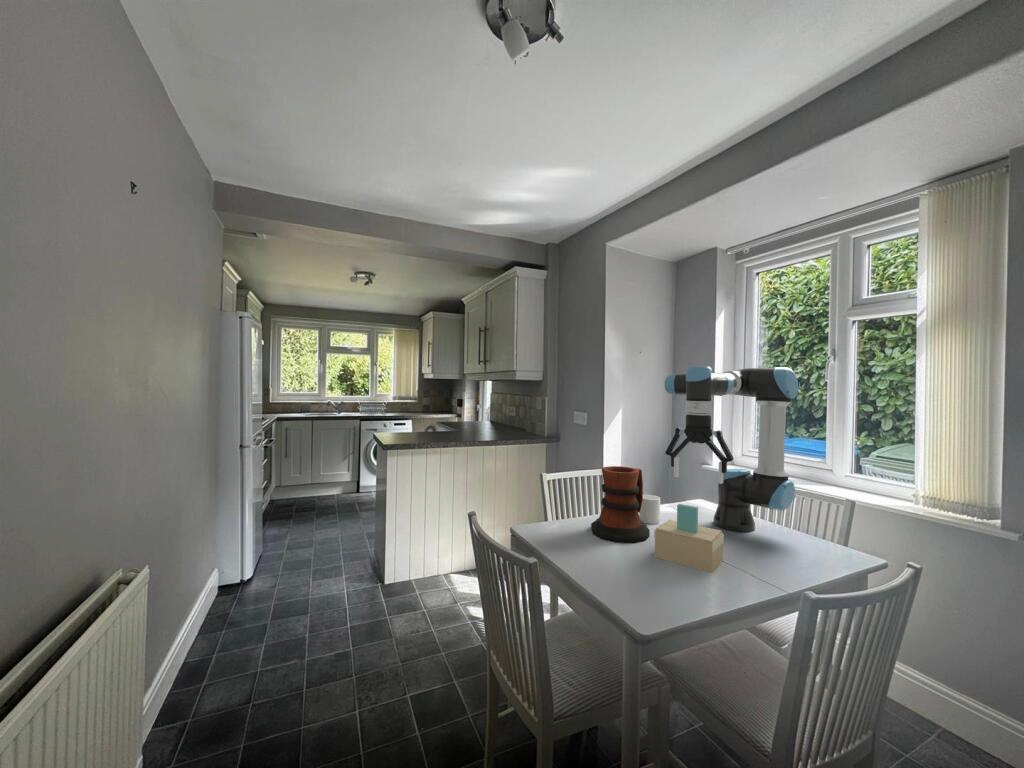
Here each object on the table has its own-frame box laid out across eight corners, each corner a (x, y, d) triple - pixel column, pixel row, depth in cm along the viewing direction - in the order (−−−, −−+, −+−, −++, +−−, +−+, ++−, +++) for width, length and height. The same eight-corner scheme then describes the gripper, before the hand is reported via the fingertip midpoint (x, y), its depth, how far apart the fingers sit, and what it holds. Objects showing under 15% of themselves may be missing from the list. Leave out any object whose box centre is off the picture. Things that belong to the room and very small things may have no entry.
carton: (667, 546, 150) (667, 519, 150) (723, 560, 138) (723, 531, 138) (654, 556, 141) (654, 527, 141) (713, 573, 129) (713, 541, 129)
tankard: (579, 531, 165) (579, 468, 165) (617, 518, 181) (617, 461, 181) (627, 548, 148) (628, 478, 148) (664, 532, 165) (665, 469, 165)
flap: (662, 525, 145) (663, 500, 145) (716, 537, 134) (716, 510, 134) (656, 529, 141) (656, 504, 141) (711, 542, 130) (711, 514, 130)
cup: (649, 525, 173) (649, 500, 173) (629, 517, 183) (629, 493, 184) (664, 522, 176) (664, 498, 176) (643, 514, 187) (643, 491, 187)
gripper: (655, 412, 141) (655, 476, 141) (739, 416, 126) (738, 488, 126) (663, 411, 147) (663, 472, 147) (744, 415, 132) (743, 483, 132)
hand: (697, 480), depth 136 cm, fingers open, 13 cm apart
